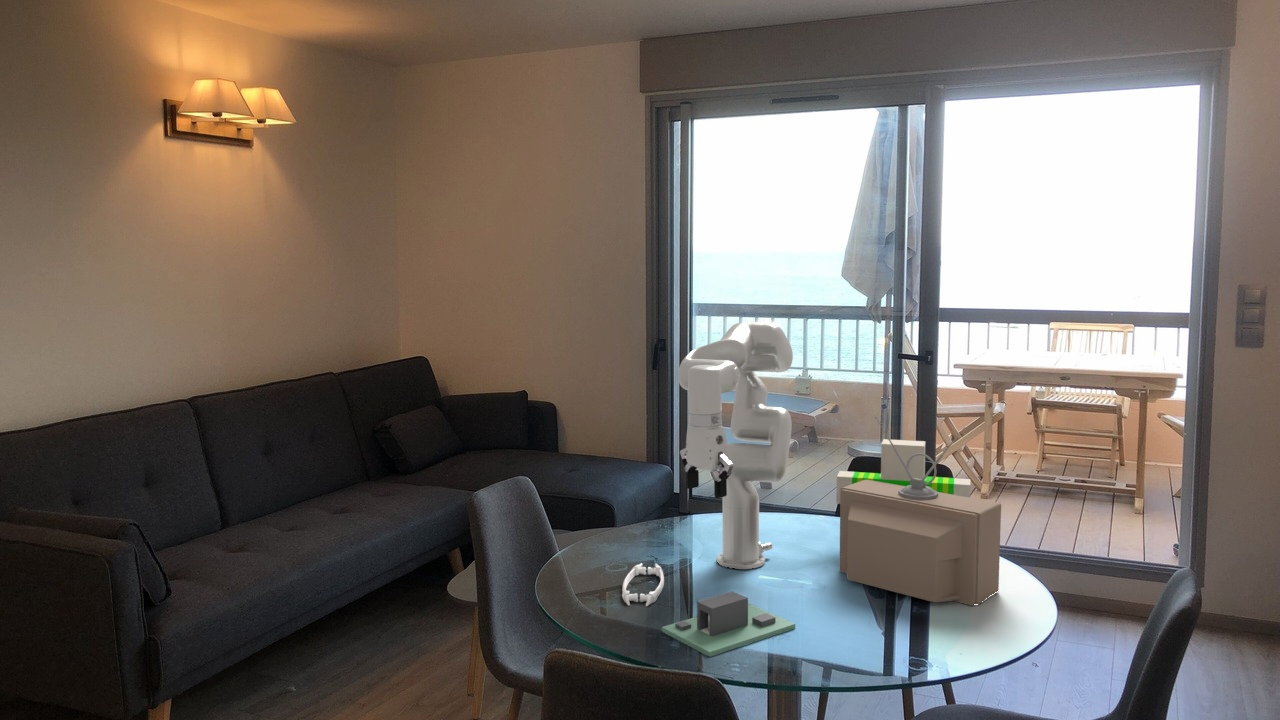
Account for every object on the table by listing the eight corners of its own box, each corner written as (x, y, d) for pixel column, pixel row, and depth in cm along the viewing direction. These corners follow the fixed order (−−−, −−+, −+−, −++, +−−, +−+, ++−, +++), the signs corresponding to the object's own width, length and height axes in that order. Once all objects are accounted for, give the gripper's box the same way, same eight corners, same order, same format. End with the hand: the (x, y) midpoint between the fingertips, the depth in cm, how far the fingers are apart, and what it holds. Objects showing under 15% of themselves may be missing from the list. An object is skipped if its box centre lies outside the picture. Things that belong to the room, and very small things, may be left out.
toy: (968, 554, 250) (971, 443, 246) (968, 561, 243) (971, 448, 240) (839, 542, 261) (840, 436, 258) (835, 549, 254) (837, 441, 251)
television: (1001, 591, 222) (1006, 425, 218) (963, 615, 207) (967, 438, 203) (866, 559, 247) (868, 409, 243) (823, 578, 232) (825, 420, 228)
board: (745, 606, 214) (745, 592, 214) (795, 628, 201) (795, 613, 201) (661, 631, 200) (661, 616, 200) (709, 656, 187) (709, 640, 187)
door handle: (668, 572, 239) (659, 608, 215) (629, 571, 240) (616, 607, 216) (668, 562, 239) (659, 597, 214) (629, 561, 240) (616, 595, 215)
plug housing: (732, 617, 205) (732, 591, 204) (747, 624, 201) (748, 597, 200) (697, 628, 199) (696, 601, 198) (712, 636, 195) (712, 608, 194)
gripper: (743, 423, 207) (744, 497, 210) (693, 411, 221) (694, 481, 224) (718, 428, 203) (719, 504, 206) (668, 416, 217) (670, 487, 219)
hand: (706, 492), depth 215 cm, fingers open, 9 cm apart
